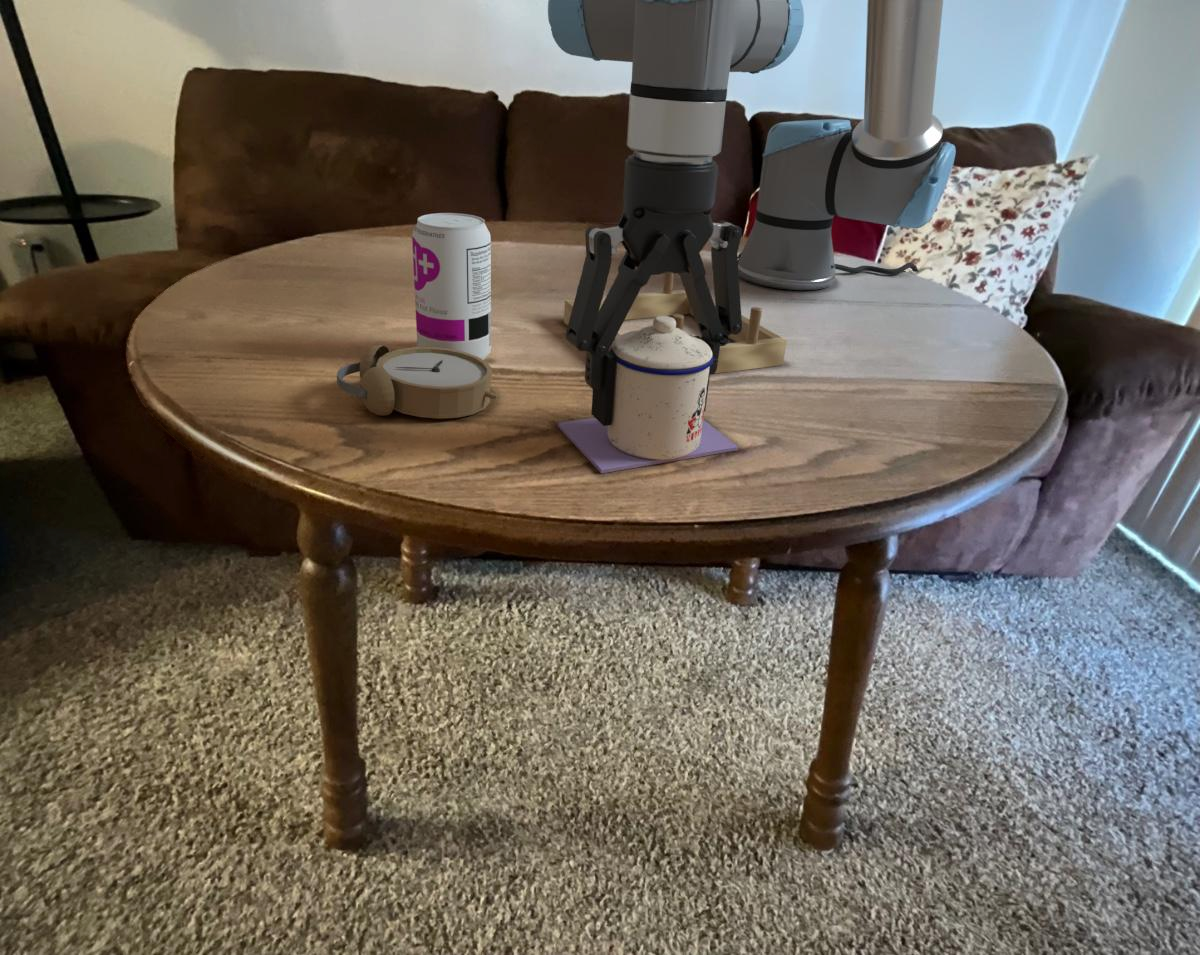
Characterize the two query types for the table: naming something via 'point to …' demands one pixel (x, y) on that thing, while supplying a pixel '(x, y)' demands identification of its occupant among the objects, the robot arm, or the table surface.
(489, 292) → the supplement can
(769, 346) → the rack
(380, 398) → the alarm clock
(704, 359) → the teacup with lid
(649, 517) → the table surface
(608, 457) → the mat
